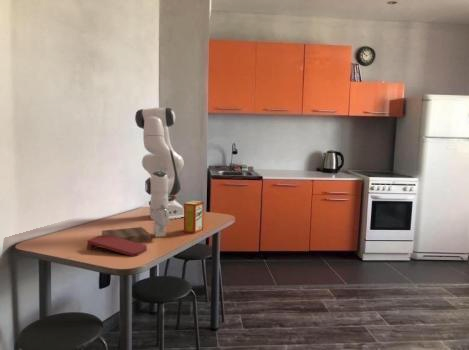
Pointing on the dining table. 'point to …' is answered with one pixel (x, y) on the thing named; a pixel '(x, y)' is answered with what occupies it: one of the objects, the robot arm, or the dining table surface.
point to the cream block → (156, 230)
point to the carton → (116, 245)
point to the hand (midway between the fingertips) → (159, 230)
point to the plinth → (129, 234)
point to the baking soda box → (193, 216)
